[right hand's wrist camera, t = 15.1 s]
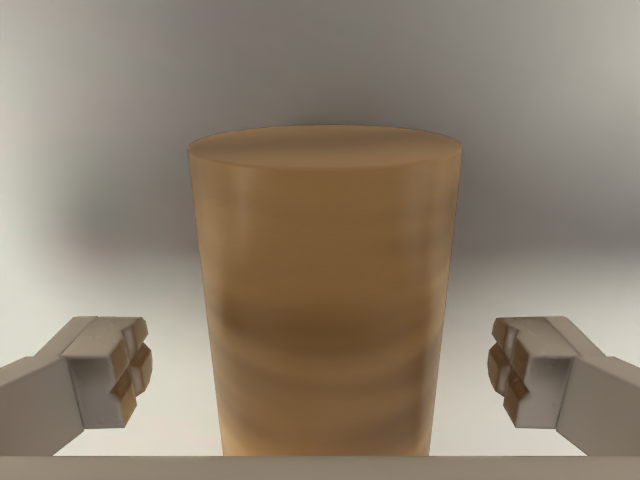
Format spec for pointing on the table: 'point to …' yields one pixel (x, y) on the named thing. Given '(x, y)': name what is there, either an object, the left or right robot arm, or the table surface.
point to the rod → (325, 284)
